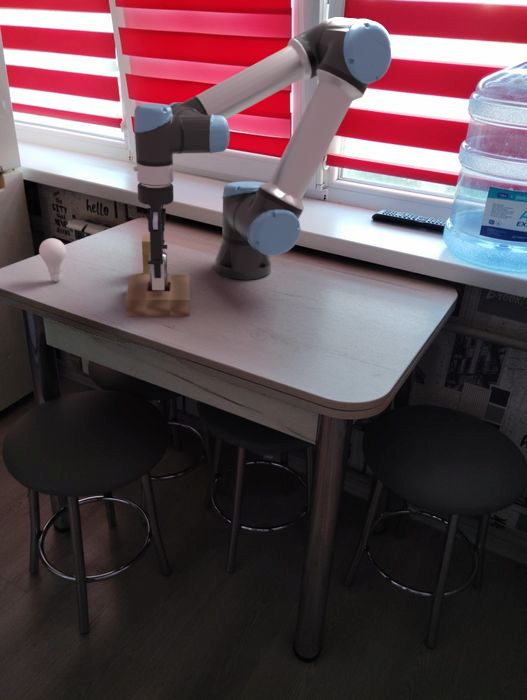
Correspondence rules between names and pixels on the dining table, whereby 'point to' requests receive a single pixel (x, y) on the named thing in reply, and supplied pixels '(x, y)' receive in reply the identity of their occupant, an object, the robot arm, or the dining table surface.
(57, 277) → the lightbulb
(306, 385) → the dining table surface
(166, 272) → the cylinder
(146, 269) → the square bit
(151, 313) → the socket block
